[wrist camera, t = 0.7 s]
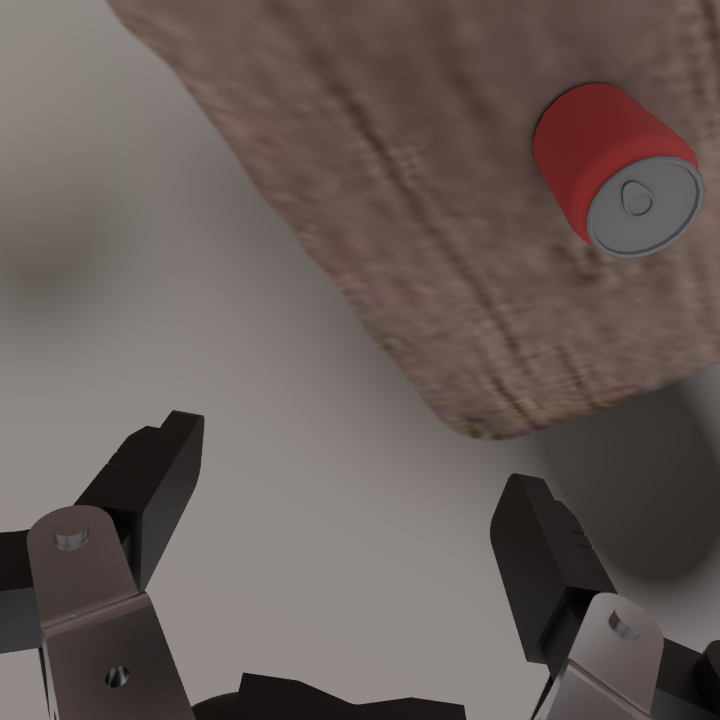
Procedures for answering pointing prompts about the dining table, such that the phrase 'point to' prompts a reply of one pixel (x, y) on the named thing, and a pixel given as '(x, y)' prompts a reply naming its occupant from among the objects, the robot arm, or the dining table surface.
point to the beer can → (617, 171)
